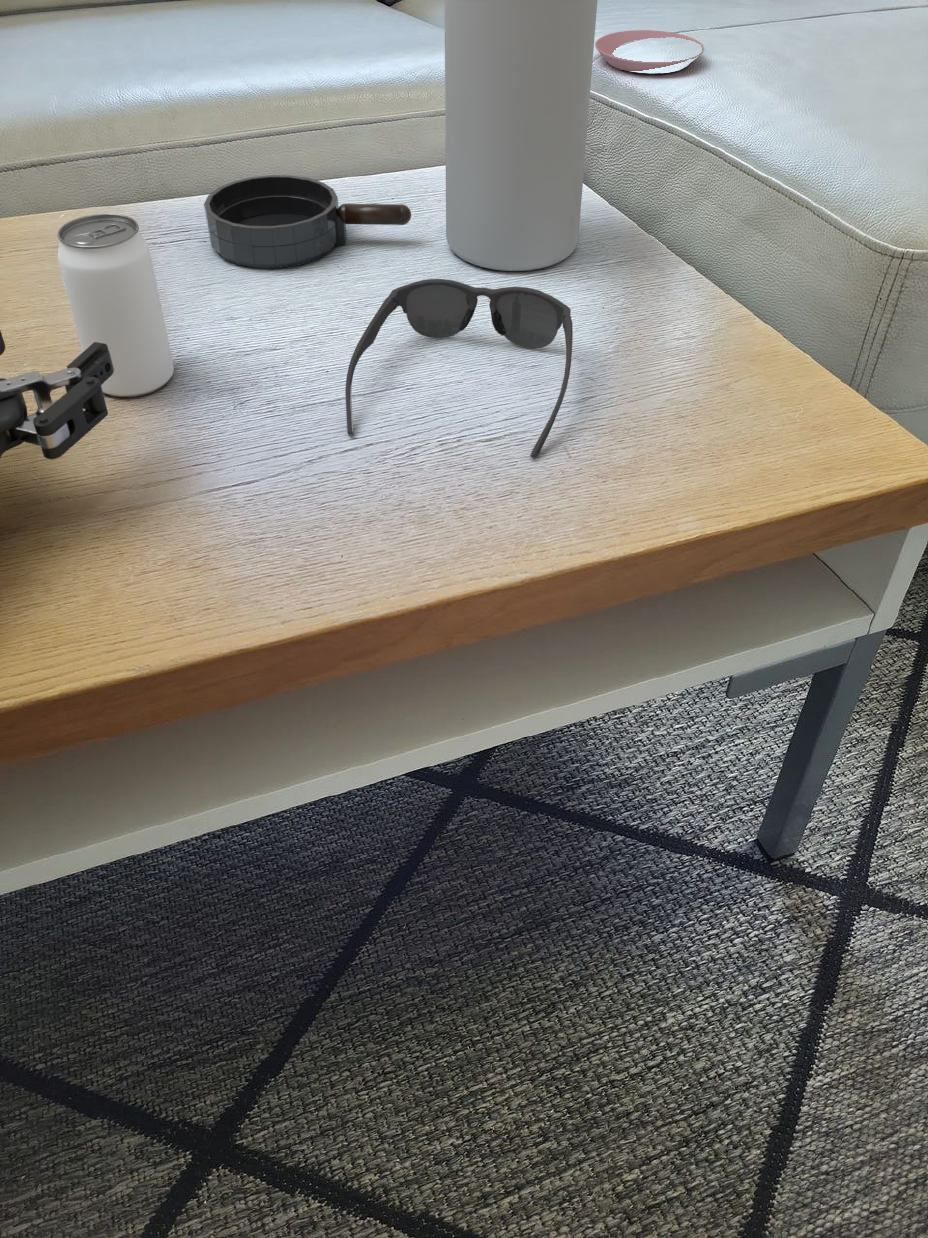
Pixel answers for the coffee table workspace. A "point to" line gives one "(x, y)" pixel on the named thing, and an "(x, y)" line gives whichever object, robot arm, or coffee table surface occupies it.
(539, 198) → the cylinder vase
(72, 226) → the can
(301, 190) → the pan
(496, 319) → the sunglasses
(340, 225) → the pan handle
